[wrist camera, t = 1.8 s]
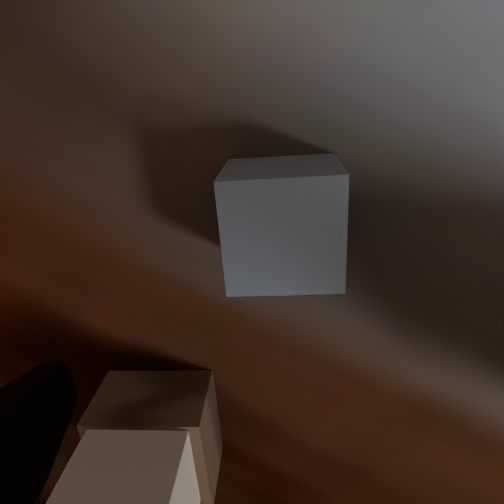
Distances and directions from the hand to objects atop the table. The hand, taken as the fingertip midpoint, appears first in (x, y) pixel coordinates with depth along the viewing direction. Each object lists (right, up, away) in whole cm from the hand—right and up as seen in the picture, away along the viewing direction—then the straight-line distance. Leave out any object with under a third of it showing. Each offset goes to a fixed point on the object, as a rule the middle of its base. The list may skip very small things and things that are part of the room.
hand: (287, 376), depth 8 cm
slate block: (+1, +4, +10) cm, 11 cm away
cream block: (-6, -8, +12) cm, 16 cm away
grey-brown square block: (-6, -7, +15) cm, 18 cm away
